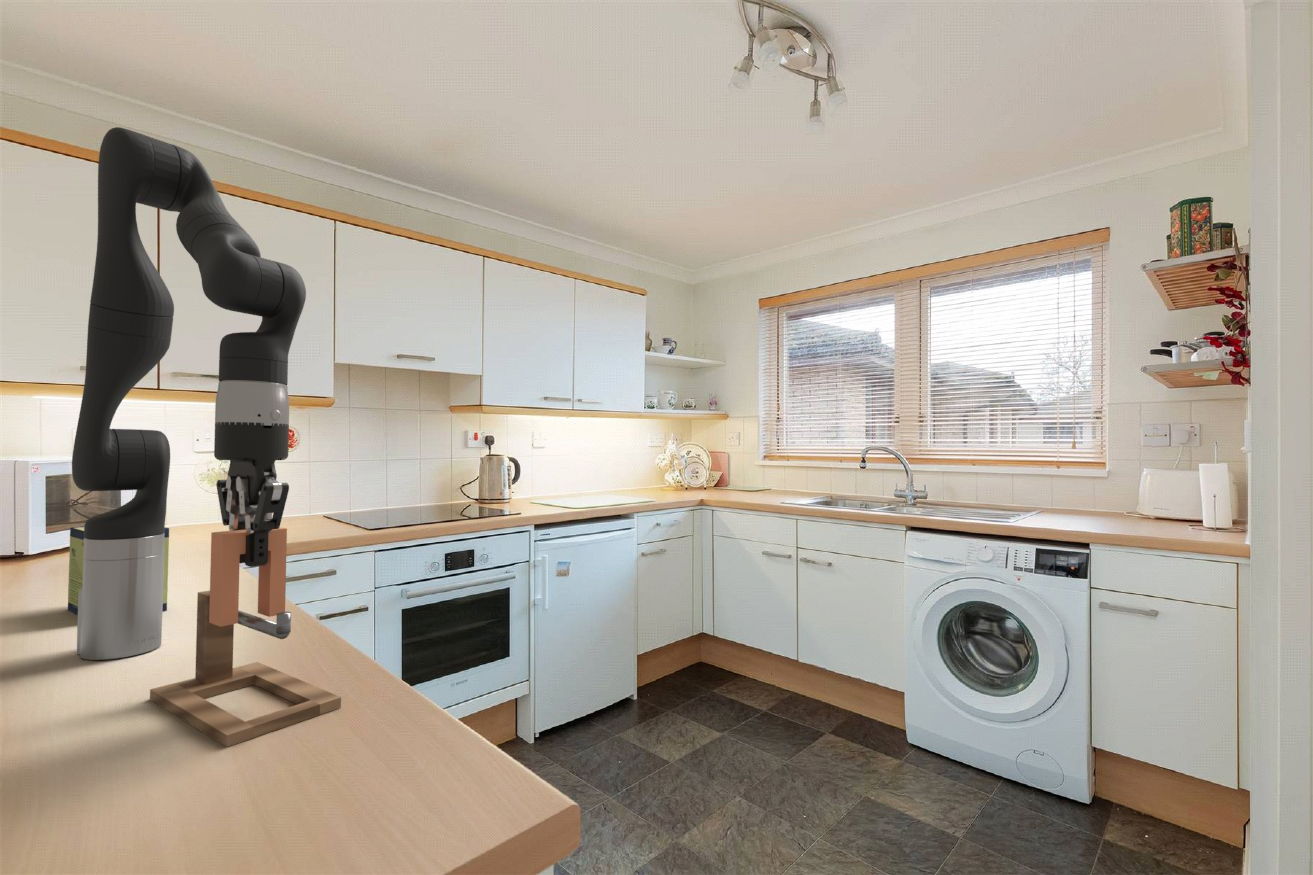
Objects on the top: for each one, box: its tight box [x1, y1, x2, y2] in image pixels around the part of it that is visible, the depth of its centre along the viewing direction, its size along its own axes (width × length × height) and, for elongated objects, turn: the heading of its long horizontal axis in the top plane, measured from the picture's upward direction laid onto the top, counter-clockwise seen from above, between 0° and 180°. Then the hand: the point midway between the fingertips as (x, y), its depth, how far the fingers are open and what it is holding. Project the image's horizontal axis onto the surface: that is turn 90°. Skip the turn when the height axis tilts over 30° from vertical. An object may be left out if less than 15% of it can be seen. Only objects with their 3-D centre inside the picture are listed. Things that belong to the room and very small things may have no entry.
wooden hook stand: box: [149, 590, 342, 748], centre depth 75 cm, size 21×12×12 cm, turn 56°
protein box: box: [67, 525, 170, 615], centre depth 115 cm, size 10×16×16 cm
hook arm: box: [237, 609, 292, 640], centre depth 74 cm, size 17×1×3 cm, turn 56°
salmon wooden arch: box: [209, 527, 288, 627], centre depth 74 cm, size 7×3×10 cm, turn 146°
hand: (249, 563), depth 74 cm, fingers closed on salmon wooden arch, 3 cm apart
